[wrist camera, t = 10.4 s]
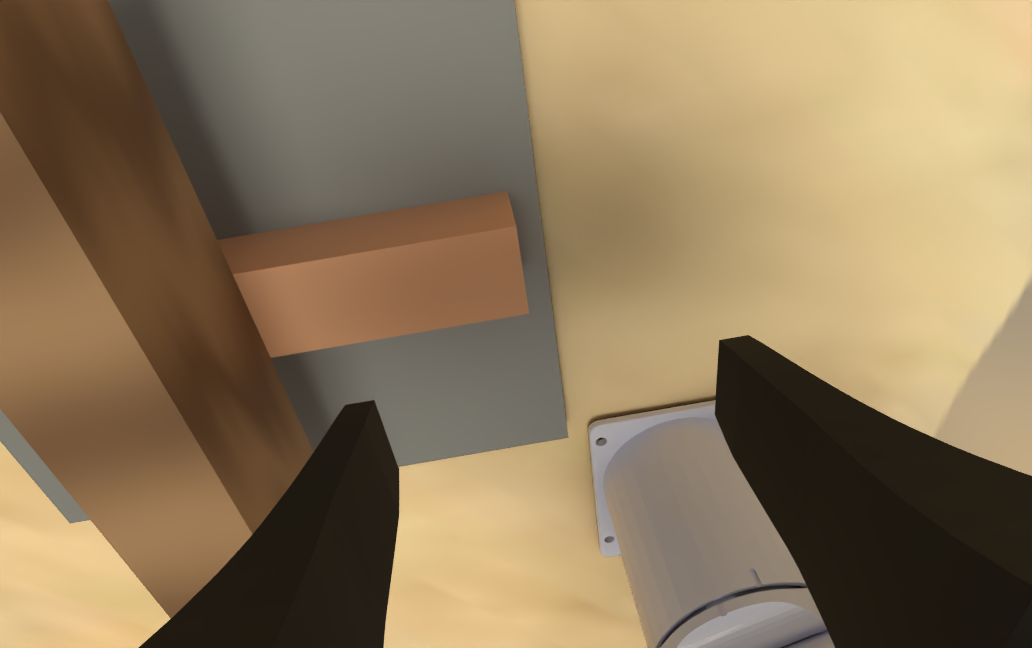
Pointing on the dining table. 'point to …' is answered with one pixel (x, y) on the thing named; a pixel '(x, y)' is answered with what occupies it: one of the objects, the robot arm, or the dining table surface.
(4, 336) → the walnut beam
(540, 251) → the stand
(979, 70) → the dining table surface
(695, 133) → the dining table surface
